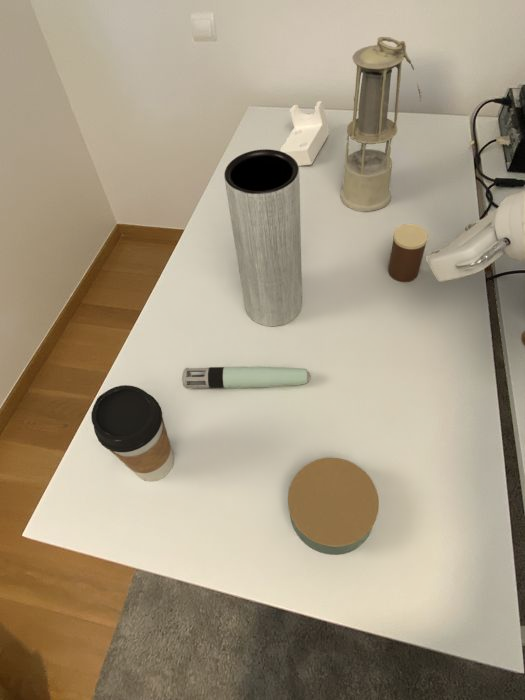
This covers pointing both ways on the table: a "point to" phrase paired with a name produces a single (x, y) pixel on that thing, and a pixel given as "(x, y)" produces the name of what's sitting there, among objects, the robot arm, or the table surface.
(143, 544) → the table surface
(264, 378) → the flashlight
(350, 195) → the lamp
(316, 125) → the bracket
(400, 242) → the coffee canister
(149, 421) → the coffee cup
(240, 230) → the vase
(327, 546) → the coffee tin
